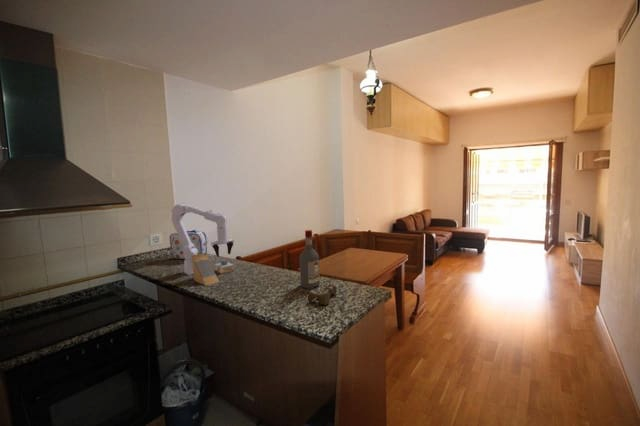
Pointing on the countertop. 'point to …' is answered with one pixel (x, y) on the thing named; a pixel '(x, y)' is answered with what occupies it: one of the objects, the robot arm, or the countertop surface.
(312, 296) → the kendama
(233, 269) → the box
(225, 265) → the lid
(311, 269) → the liquor
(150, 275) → the countertop surface
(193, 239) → the lunch box
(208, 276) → the sandwich container
